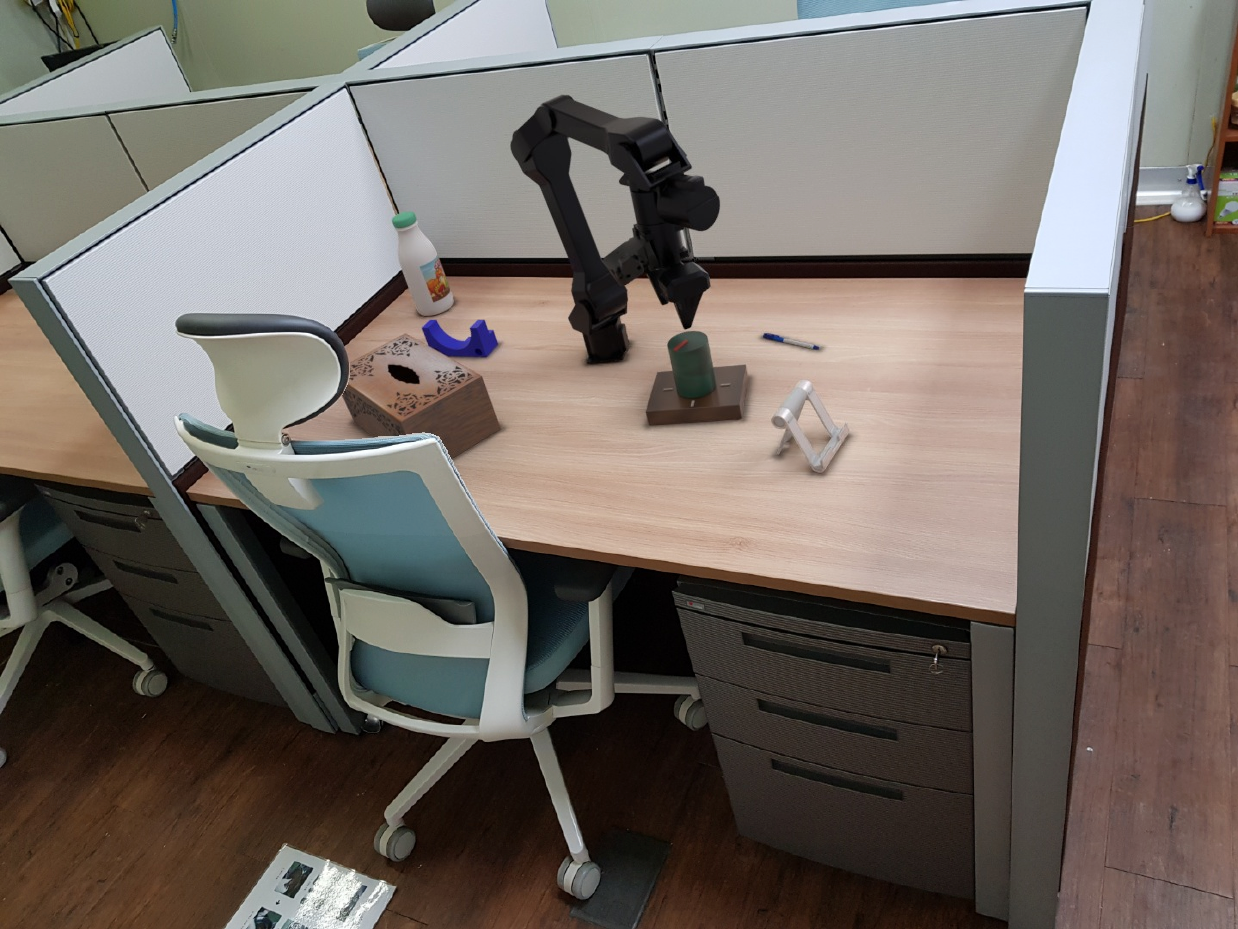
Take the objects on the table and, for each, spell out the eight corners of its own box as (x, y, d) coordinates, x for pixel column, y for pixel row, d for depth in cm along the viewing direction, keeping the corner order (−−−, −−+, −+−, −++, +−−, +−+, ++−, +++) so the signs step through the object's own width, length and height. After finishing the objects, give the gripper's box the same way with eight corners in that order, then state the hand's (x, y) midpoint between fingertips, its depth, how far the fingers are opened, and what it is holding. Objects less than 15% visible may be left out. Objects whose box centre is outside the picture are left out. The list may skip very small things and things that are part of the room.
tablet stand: (825, 474, 120) (819, 421, 116) (770, 464, 125) (762, 413, 120) (849, 436, 126) (845, 384, 121) (795, 427, 130) (789, 377, 125)
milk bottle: (424, 320, 186) (388, 227, 174) (414, 308, 192) (378, 217, 180) (459, 306, 188) (426, 213, 176) (448, 294, 194) (415, 203, 182)
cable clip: (498, 344, 171) (488, 315, 167) (486, 357, 167) (476, 328, 164) (444, 343, 176) (434, 315, 172) (432, 356, 172) (421, 327, 169)
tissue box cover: (500, 428, 147) (482, 375, 141) (423, 475, 141) (400, 421, 135) (425, 381, 165) (405, 333, 159) (353, 421, 159) (331, 372, 153)
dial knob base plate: (648, 425, 138) (645, 410, 137) (660, 385, 147) (656, 370, 145) (741, 419, 135) (739, 403, 133) (748, 377, 143) (745, 363, 141)
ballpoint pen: (761, 339, 152) (761, 333, 151) (764, 336, 152) (764, 331, 152) (817, 350, 145) (817, 345, 145) (820, 348, 146) (820, 342, 145)
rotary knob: (692, 373, 143) (683, 326, 138) (724, 381, 139) (715, 332, 134) (668, 393, 140) (658, 345, 135) (700, 402, 136) (690, 353, 131)
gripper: (583, 214, 134) (606, 309, 143) (623, 258, 119) (646, 361, 128) (654, 190, 136) (672, 286, 145) (702, 230, 121) (720, 334, 130)
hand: (675, 316), depth 137 cm, fingers open, 9 cm apart
